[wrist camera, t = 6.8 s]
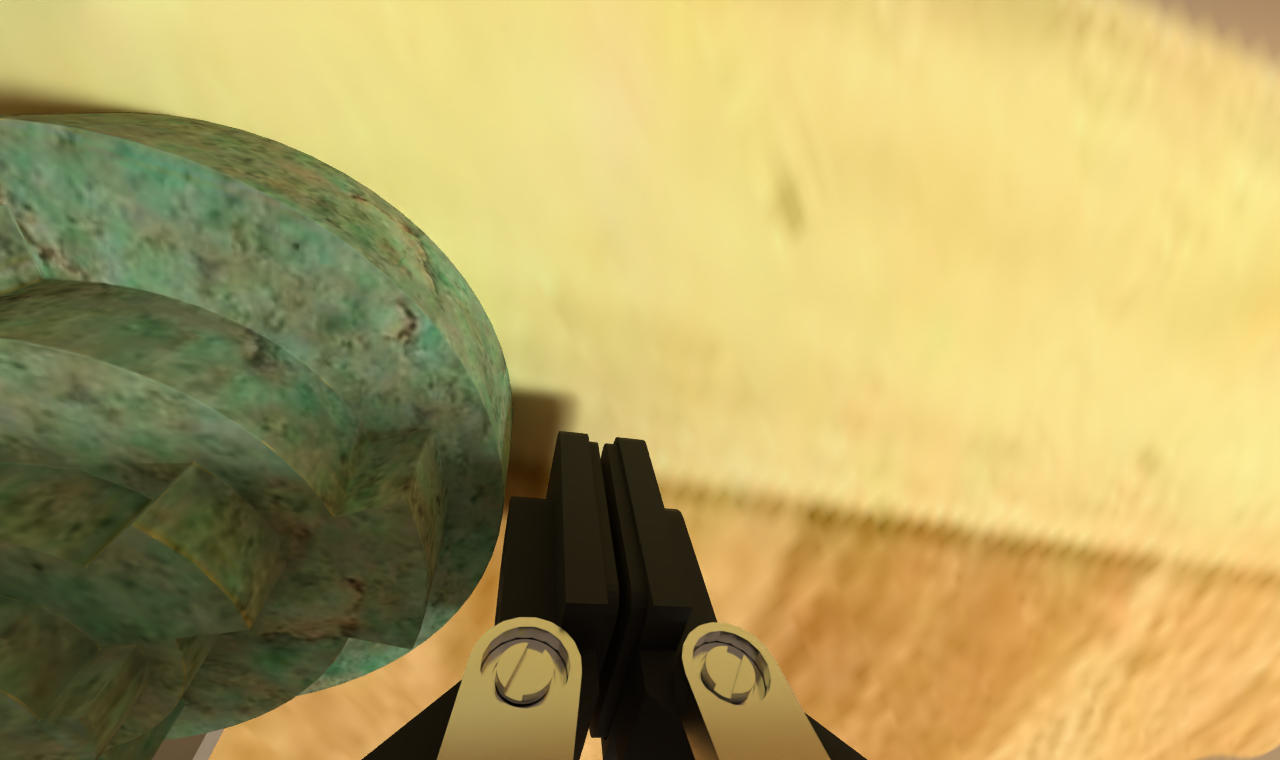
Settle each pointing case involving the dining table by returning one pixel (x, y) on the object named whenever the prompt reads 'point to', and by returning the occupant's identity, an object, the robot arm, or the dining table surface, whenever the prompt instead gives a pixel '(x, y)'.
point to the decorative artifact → (223, 432)
